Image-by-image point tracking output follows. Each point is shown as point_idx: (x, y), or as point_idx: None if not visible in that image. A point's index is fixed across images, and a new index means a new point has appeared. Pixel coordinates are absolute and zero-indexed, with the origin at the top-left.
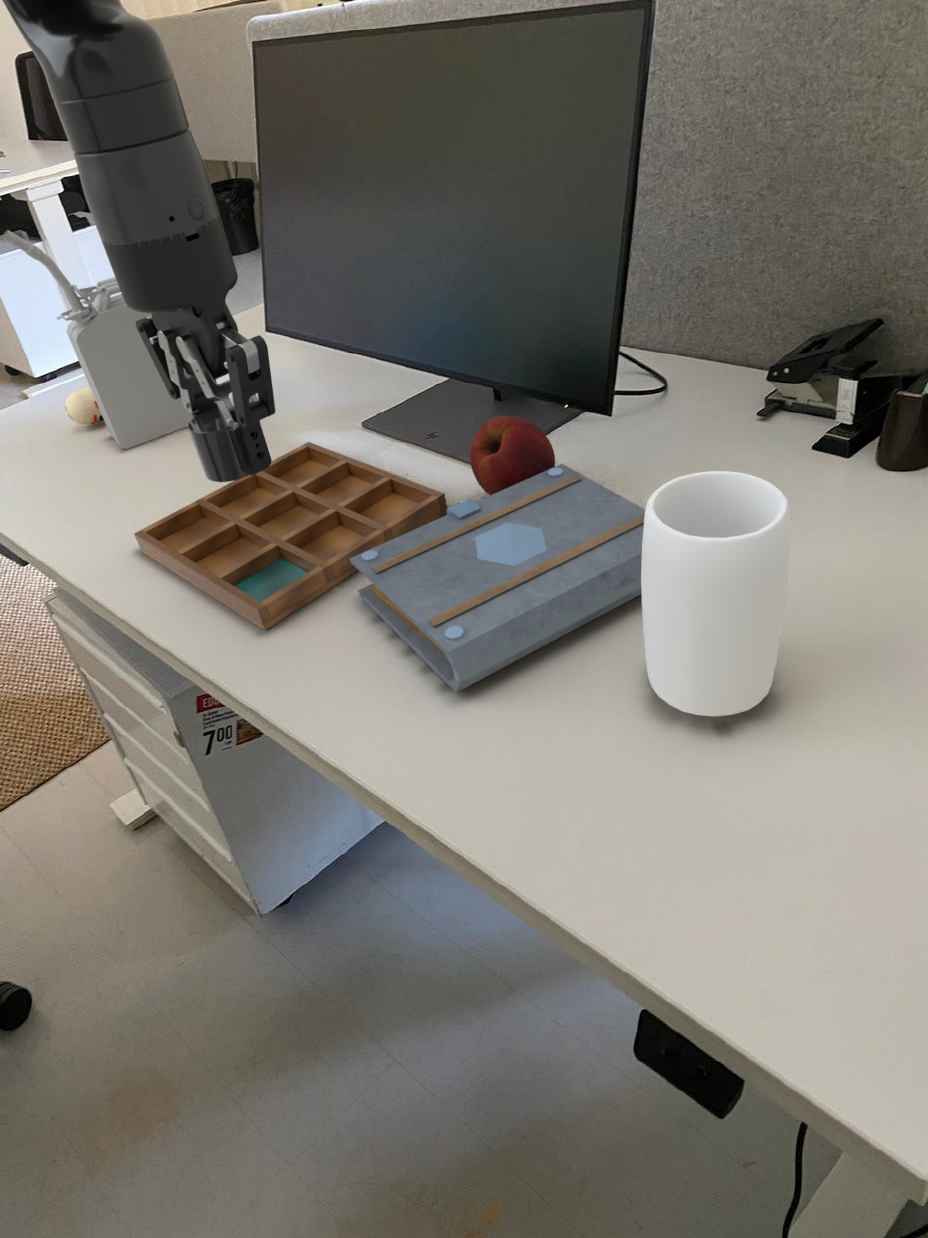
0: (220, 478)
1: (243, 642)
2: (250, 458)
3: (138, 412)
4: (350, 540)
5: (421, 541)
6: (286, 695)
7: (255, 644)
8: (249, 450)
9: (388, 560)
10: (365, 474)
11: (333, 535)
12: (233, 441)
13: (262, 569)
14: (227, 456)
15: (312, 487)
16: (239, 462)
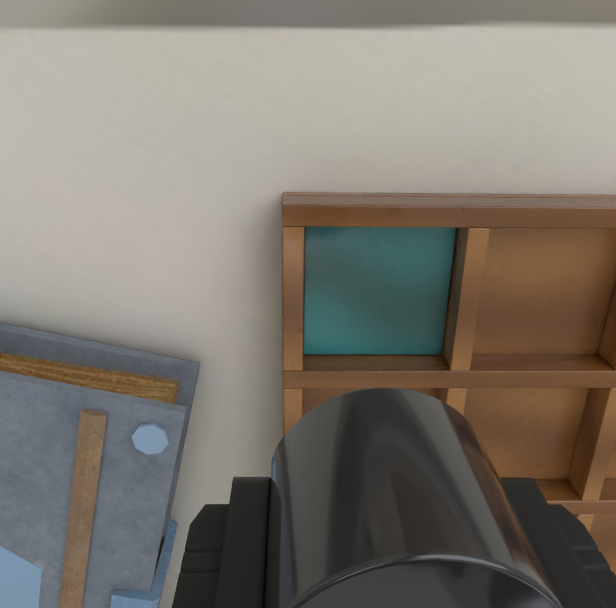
0: (321, 410)
1: (291, 140)
2: (203, 540)
3: None
4: None
5: (113, 516)
6: (62, 90)
7: (263, 152)
8: (180, 574)
9: (96, 447)
10: None
11: None
12: (246, 587)
13: (444, 308)
14: (283, 506)
15: None
16: (265, 504)
